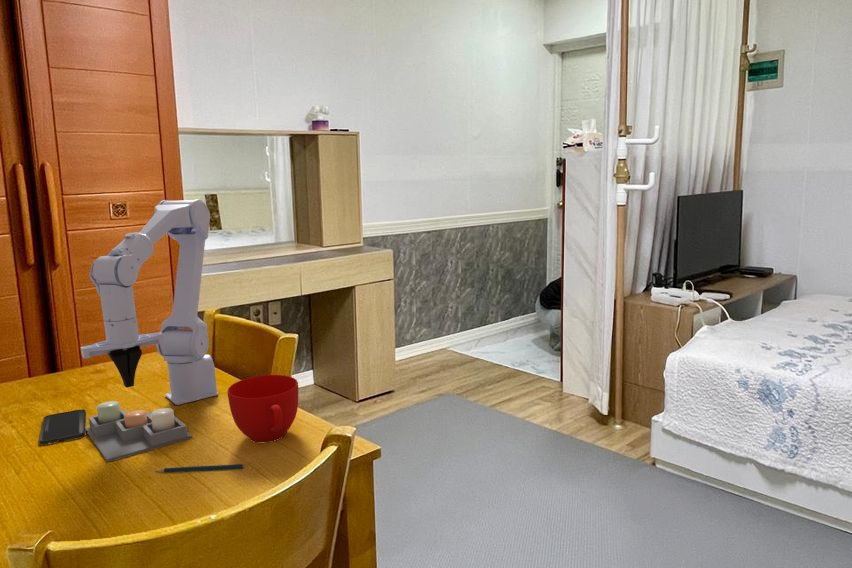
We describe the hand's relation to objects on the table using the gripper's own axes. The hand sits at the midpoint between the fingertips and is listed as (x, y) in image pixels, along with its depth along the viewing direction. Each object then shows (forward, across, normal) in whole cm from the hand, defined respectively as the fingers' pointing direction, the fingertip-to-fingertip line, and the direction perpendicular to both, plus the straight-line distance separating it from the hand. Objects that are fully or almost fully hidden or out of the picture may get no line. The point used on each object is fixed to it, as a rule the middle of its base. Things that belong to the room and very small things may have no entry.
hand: (129, 385), depth 128 cm
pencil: (+10, +4, -26) cm, 28 cm away
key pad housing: (+9, 0, -2) cm, 10 cm away
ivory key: (+7, +3, -8) cm, 11 cm away
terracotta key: (+9, 0, -2) cm, 9 cm away
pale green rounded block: (+7, -3, +3) cm, 9 cm away
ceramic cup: (+10, +18, -23) cm, 31 cm away
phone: (+10, -11, +12) cm, 19 cm away
